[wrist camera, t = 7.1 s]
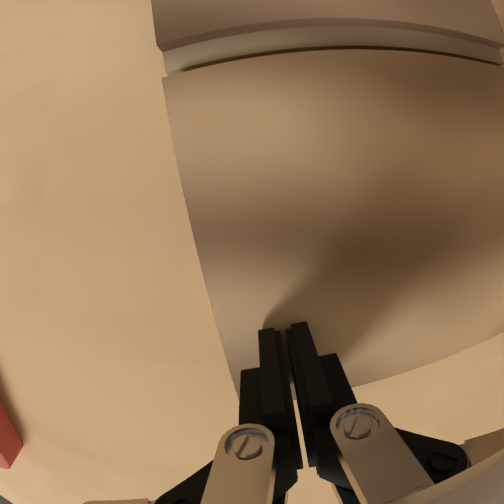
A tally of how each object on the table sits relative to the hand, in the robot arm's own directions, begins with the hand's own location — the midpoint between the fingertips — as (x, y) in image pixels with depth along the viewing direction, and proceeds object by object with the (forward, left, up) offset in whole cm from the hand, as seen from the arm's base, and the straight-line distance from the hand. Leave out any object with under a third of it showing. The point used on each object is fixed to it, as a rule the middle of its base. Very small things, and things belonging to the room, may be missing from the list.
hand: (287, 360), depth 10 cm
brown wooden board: (-16, +5, -1) cm, 17 cm away
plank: (-4, +5, -1) cm, 6 cm away
